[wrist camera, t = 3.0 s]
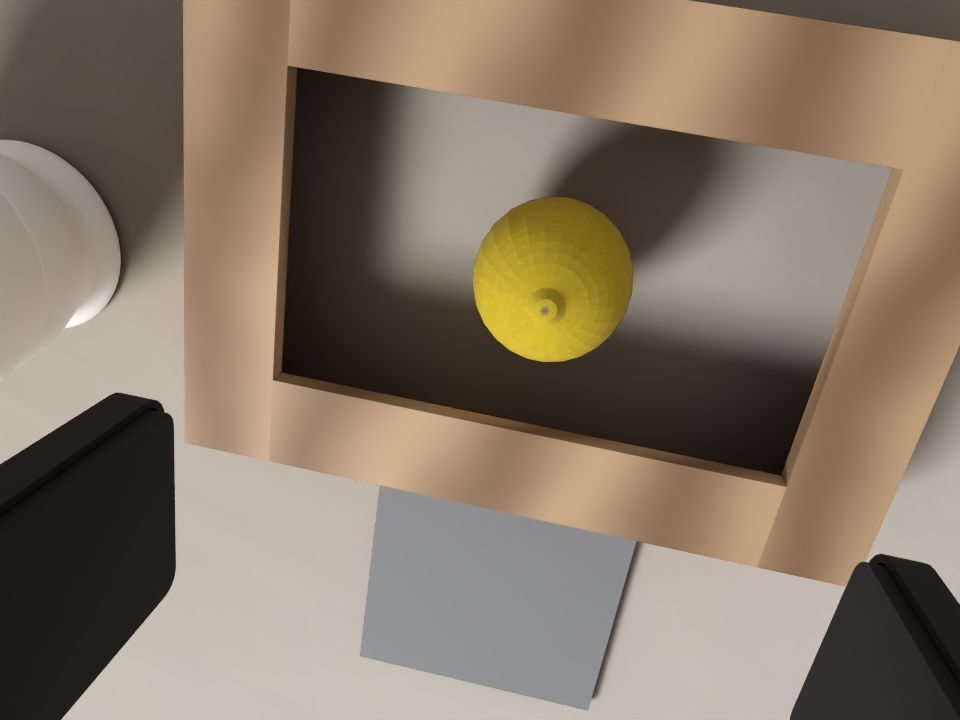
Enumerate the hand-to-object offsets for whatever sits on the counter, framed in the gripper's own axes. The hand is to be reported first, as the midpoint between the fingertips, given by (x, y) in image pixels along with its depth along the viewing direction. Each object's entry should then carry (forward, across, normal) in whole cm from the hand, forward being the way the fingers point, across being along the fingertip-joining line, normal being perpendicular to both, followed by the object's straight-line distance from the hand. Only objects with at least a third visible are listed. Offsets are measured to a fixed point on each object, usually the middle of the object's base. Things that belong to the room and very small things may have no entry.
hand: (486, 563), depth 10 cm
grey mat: (+20, 0, +17) cm, 26 cm away
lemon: (+20, 0, 0) cm, 20 cm away
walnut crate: (+20, 0, 0) cm, 20 cm away
